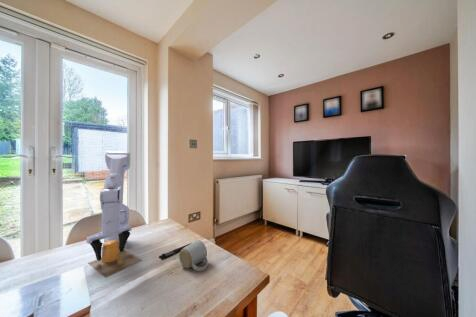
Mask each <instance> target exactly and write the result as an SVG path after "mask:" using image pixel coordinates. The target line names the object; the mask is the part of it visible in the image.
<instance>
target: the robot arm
mask: <svg viewBox="0 0 476 317" xmlns="http://www.w3.org/2000/svg"><path fill="white" fill-rule="evenodd" d="M104 155H105V156H104V158H105V164H106V168H107V169H108V170H109V174H107V175H106V177H105V179H104V180H105V181H104V185H103V189H102V190H101V191H100V194H99V202H100V210H101V231H99V232H97V233H95V234H92V235H89V236H87V237H86V244H89V246H91V248H92V250H93V251H94V254H95V258H96V259H95V260H98V261H100V260H101V258H102V247H103V244H104V243H105V242H108V241H111V240H118V241H119V251H121V252H123V251H125V246H126V244H127V241H128V239H129V238H130V236H131V232H132V230H133V228H132V227H133V226H132V225H129V224H128V223H129V222H130V207H129V206H128V205H126V204H124V201H123V200H124V183H125V182H124V180H125V179H124V178H125V173H126V171H128V170H130V168H131V152H130V151H111V150H107V151H106V152H105V154H104ZM127 224H128V225H127ZM101 240H103V241H104V243H103V242H102V241H101Z"/></svg>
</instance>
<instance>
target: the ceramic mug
mask: <svg viewBox="0 0 476 317" xmlns="http://www.w3.org/2000/svg"><path fill="white" fill-rule="evenodd" d="M190 243H191V244H190ZM190 243H188V244H189V245H188V246H186V247H184V248H183V249H182V250H181V251H180V252H179V253H178V255H179V257H178V258H179V259H178V260H179V261H180V265H182V267H184V269H189V268H192V269H194V270H195V271H197V272H203V271H204V270H206V269H207V268H208V264H209V260H208V258H207V256H208V250H207V247H206V244H205V243H204V242H203V241H202V240H201V239H200V240H199V239H196V240H194V241H193V242H190ZM201 262H205V264H206V265H205V266H203V267H198V266H197V264H199V263H201Z"/></svg>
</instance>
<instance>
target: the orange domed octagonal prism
mask: <svg viewBox="0 0 476 317" xmlns="http://www.w3.org/2000/svg"><path fill="white" fill-rule="evenodd" d="M118 254H119V241H118V240H111V241H108V242H104V243H103V244H102V249H101V258H102V261H103V262H111V261H114V260H116V259H117V255H118Z"/></svg>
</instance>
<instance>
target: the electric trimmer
mask: <svg viewBox="0 0 476 317" xmlns="http://www.w3.org/2000/svg"><path fill="white" fill-rule="evenodd" d="M191 243H192V242H190V243H187V244H186V245H185V244H184V245H182V246H180V247H177V248H175V249H173V250H171V251H168V252H165V253H162V254H161V255H159V256H158V259H160V260H161V261H163V260H166V259H169V258H171V257H173V256H175V255H177V254H180V251H181V250H182V249H183V248H184V247H186V246H188V245H189V244H191Z"/></svg>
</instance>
